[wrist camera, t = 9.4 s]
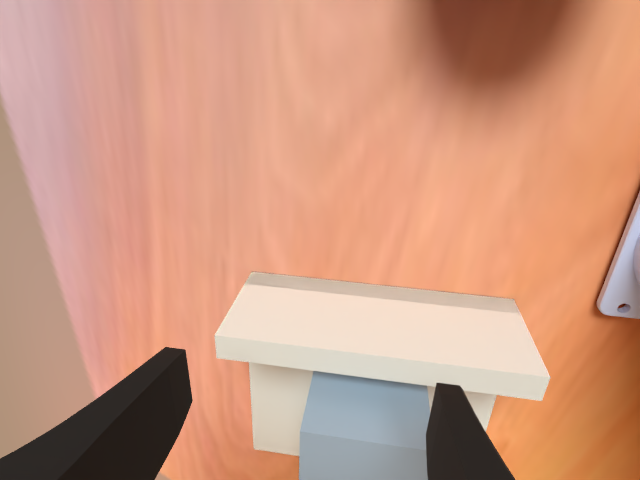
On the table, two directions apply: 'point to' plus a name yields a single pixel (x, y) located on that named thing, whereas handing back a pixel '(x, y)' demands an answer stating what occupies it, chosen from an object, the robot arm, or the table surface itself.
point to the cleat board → (371, 345)
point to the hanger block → (363, 429)
